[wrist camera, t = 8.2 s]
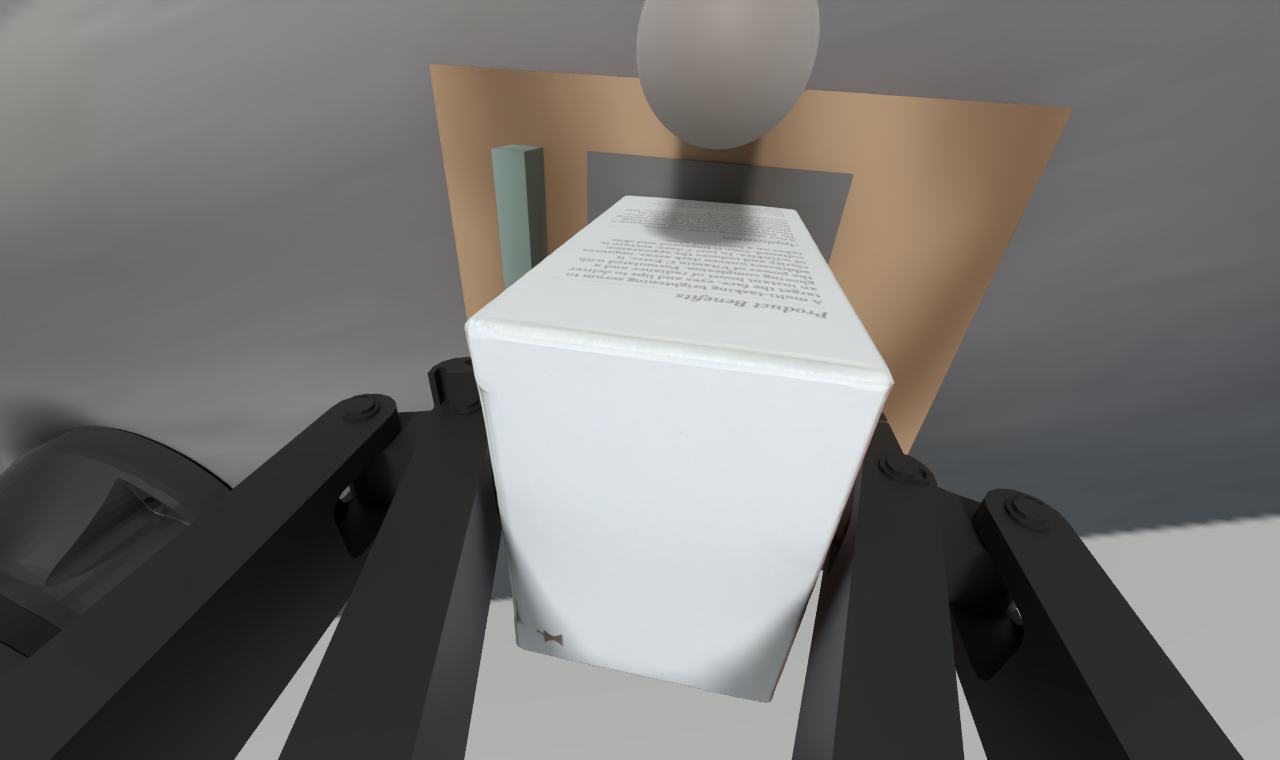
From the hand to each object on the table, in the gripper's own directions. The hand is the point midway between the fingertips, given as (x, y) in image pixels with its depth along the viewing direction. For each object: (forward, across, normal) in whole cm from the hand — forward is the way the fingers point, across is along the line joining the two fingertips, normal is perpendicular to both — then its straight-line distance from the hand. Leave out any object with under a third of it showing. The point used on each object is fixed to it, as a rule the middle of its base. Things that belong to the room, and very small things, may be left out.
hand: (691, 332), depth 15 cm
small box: (+2, 0, 0) cm, 2 cm away
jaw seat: (+3, 0, 0) cm, 3 cm away
